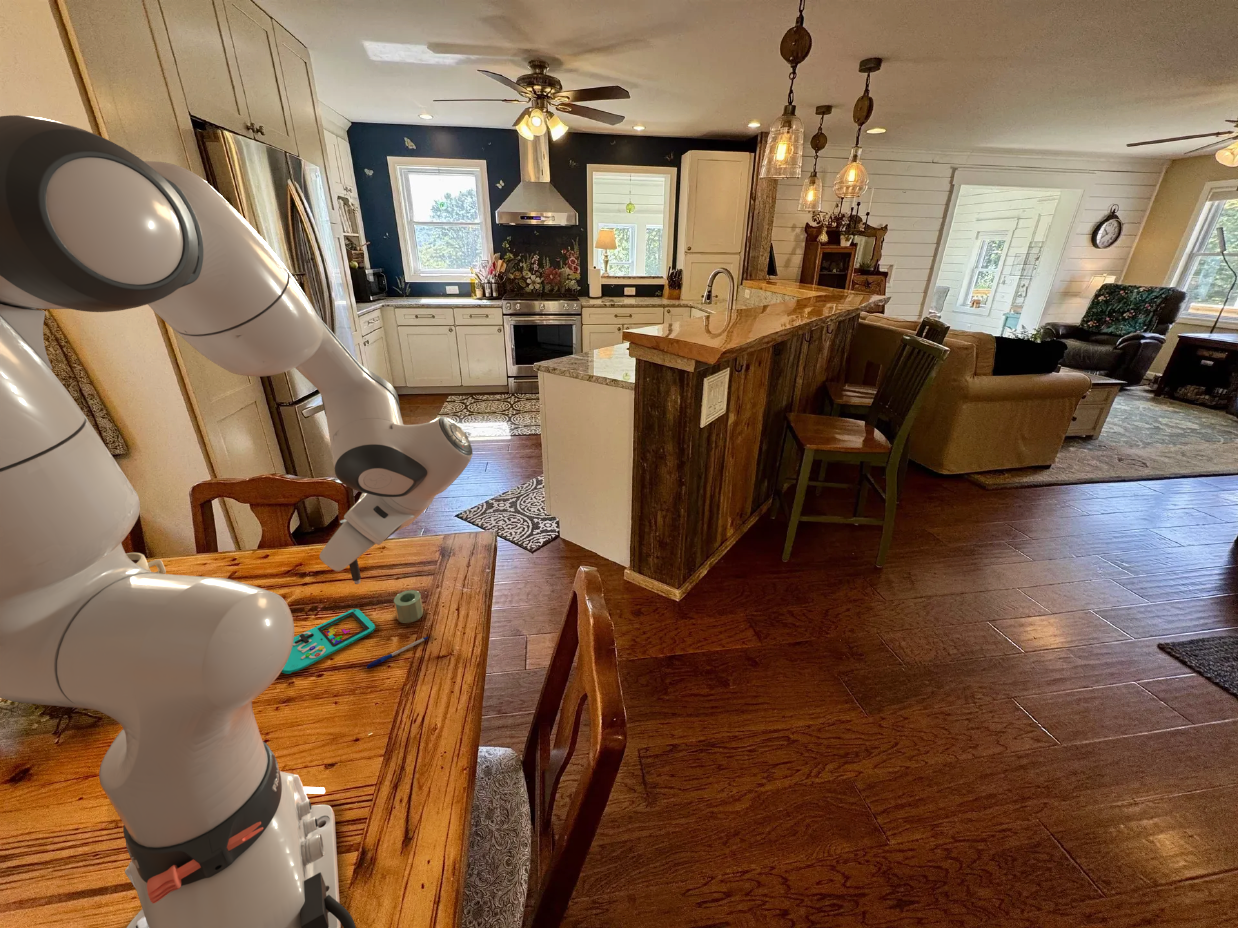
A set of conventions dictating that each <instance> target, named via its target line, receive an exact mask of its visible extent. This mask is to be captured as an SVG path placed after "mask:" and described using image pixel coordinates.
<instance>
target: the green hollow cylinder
mask: <svg viewBox="0 0 1238 928" xmlns="http://www.w3.org/2000/svg"><path fill="white" fill-rule="evenodd" d="M393 605H394V611H395V616H396V619H397V620H398V622H400V623H402V624H411V623H414V622H416V621H418V620H420V619H421V617H422V616H423V615H424V605H423V600H422V595H421V593H420V592H419V591H418V590H416V589H415V590H414V589H409V590H408V589H407V590H404V591H402V592H399V593H398V594H397V595H396V596H395V597H394V599H393Z"/></svg>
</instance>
